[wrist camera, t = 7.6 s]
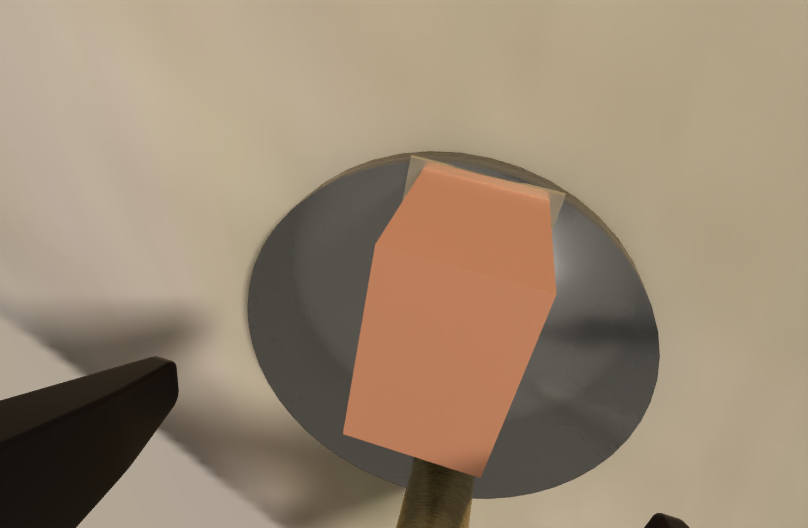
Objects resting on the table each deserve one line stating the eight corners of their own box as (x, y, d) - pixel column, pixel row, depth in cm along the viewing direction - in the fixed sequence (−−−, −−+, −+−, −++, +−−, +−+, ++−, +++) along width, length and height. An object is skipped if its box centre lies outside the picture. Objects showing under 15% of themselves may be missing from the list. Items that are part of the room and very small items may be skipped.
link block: (549, 199, 14) (556, 294, 9) (494, 352, 16) (480, 478, 12) (423, 167, 14) (375, 244, 10) (391, 322, 17) (342, 433, 12)
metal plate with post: (750, 363, 16) (1072, 910, 6) (450, 515, 23) (391, 882, 14) (425, 44, 14) (173, 158, 4) (203, 323, 21) (-77, 602, 11)
